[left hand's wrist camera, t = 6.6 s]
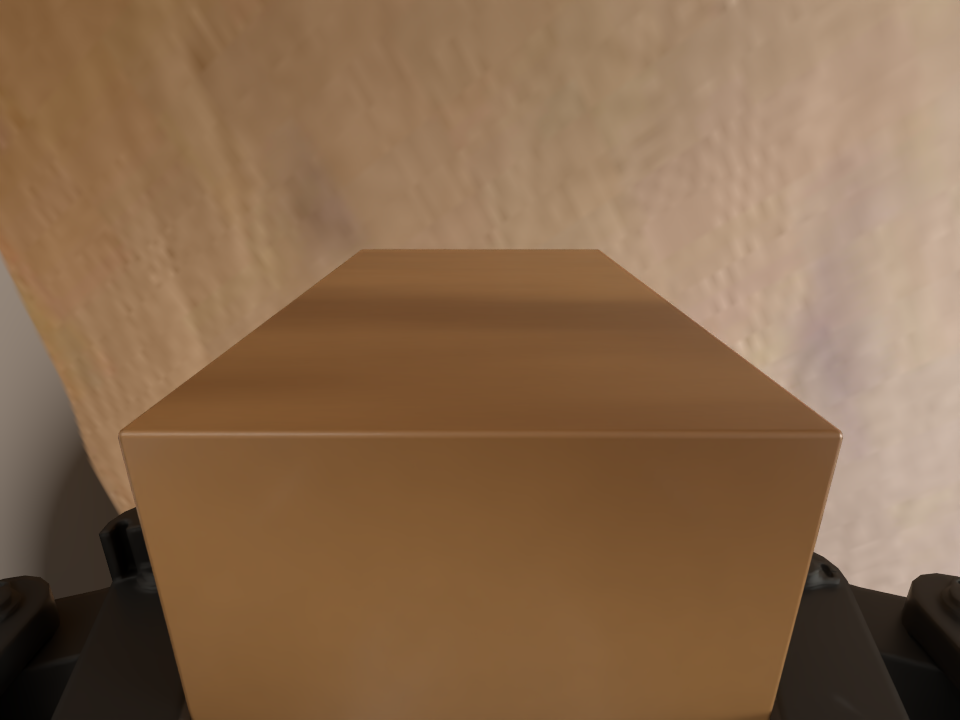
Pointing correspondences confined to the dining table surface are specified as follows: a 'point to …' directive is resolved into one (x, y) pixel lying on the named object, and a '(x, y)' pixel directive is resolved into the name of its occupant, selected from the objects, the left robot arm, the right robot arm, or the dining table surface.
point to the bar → (480, 502)
